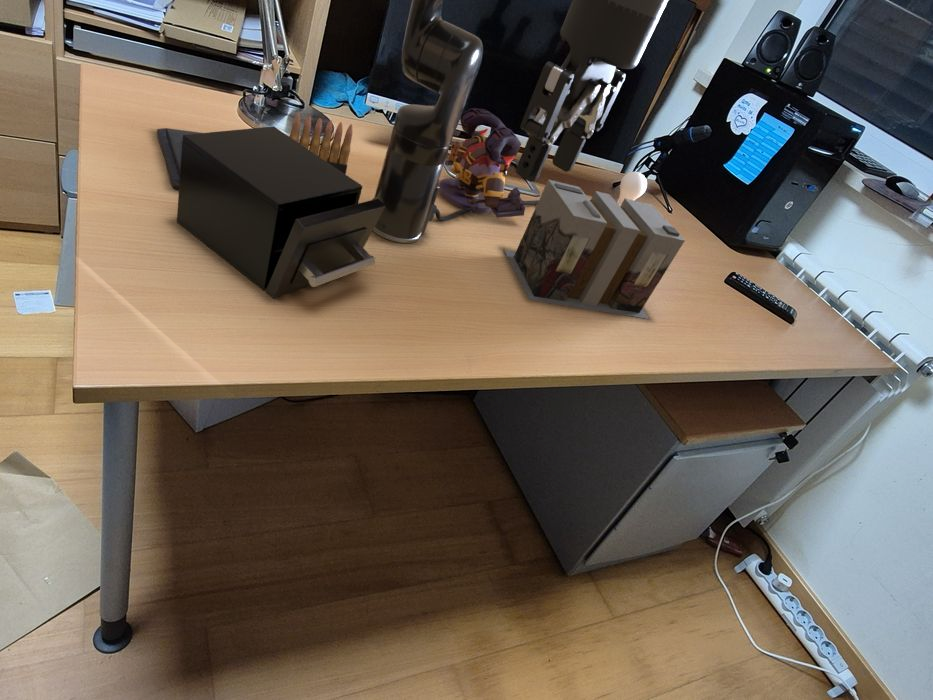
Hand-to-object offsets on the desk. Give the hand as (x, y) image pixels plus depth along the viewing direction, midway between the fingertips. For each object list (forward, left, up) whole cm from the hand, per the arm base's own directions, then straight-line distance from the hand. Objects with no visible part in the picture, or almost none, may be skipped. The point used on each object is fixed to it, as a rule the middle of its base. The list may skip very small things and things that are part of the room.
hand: (544, 172), depth 62 cm
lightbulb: (-85, -27, -30) cm, 94 cm away
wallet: (+2, -58, -30) cm, 65 cm away
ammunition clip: (-12, -50, -30) cm, 60 cm away
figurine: (-44, -40, -30) cm, 67 cm away
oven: (+6, -35, -30) cm, 46 cm away
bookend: (-43, -10, -30) cm, 54 cm away
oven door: (+4, -23, -30) cm, 38 cm away
